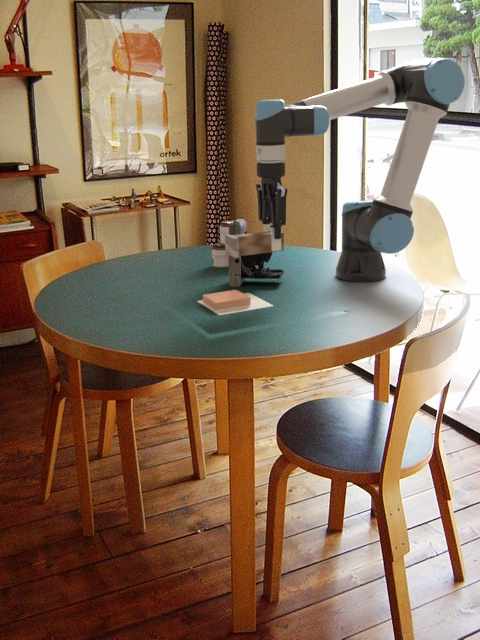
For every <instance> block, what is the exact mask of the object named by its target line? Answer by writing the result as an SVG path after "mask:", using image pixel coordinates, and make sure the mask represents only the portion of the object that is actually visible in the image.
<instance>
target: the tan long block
mask: <svg viewBox="0 0 480 640" xmlns="http://www.w3.org/2000/svg"><path fill="white" fill-rule="evenodd" d="M284 250H285V232H283V231H281V250H279V251H271V231H268V232H264V231H260V232H252V233H251V232H249V233H247V234H239V235H225V253H226V254H228V255H230V256H232V257H234V258H237V257H239V256H244V255H253V254H261V253H270V252H272V253H278V252H284Z"/></svg>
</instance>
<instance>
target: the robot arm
mask: <svg viewBox="0 0 480 640" xmlns="http://www.w3.org/2000/svg"><path fill="white" fill-rule="evenodd" d="M464 89H465V75H464V72H463V70H462V68H461V65H459V64H458V63H457V62H456V61H455V60H453V59H451V58H444V57H435V58H423V59H421V58H420V59H414V60H411V61H406V62H405V63H402V64H399V65H397V66H395V67H394V66H393V67H392V68H389V69H386V70H382V71H381V72H379V73H378V75H377V76H376V77H373V78H369V79H367V80H366V79H365V80H363V81H360V82H356V83H353V84H350V85H347V86H344V87H340V88H337V89H333V90H330V91H327V92H323V93H320V94H318V95H313V96H311V97H308V98H304V99H302V100H301V99H300V100H299V101H295V102H291V103H288V104H287V103H286V104H285V100H284V99H260V100H257V102H256V103H255V110H254V121H255V123H254V124H255V139H256V140H255V144H256V145H255V146H256V147H255V148H256V149H255V153H256V160H257V163H256V176H257V177H258V178H261V180H260V183H257V184H255V189H256V193H257V196H256V197H257V213H258V220H259V221H261V224H263V231H262V232H268V231H271V251H279V250H281V232H282V227H283V226H286V224H287V196H288V188H287V187H284V188H283V184H282V180H281V178H282V177H284V176H285V175H286V162H285V161H284V160H286V137H287V138H290V137H308V136H313V137H316V136H319V135H320V136H321V135H324V134H326V133H327V132H328V130H329V127H330V121H331V120H335V119H338V118H342V117H344V116H348V115H351V114H354V113H357V112H360V111H364V110H367V109H371V108H373V107H376V106H380V105H383V104H384V105H387V106H392V105H395V104H400V103H405V107H406V108H407V113H406V114H407V115H406V118H405V120H404V123H403V127H402V128H401V132H400V135H399V138H398V142H397V144H396V147H395V150H394V153H393V157H392V160H391V163H390V166H389V168H388V171H387V174H386V178H385V180H384V184H383V186H382V190H381V192H380V195H378V196H376V197H374V198H373V199H372V200H371V199H370V200H356V201H347V202H345V203H343V205H342V211H341V252H340V256H339V259H338V261H337V265H336V268H335V277H336V278H338V279H340V280H343V281H349V282H359V283H365V282H375V281H380V280H383V279H385V278H386V275H387V273H386V272H387V271H386V269H387V268H386V266H385V263H384V259H383V256H382V255H383V253H384V254H390V255H392V254H397V253H399V252H401V251H403V250H404V249H406V248H407V247H408V245H409V244H410V243H411V241H412V240H413V237H414V233H415V228H414V227H415V226H414V225H413V221H412V220H411V219H412V216H413V213H414V209H413V207H412V206H411V202H412V200H413V196H414V193H415V191H416V188H417V184H418V182H419V178H420V175H421V172H422V170H423V168H424V167H423V166H424V164H425V161H426V157H427V155H428V152H429V149H430V146H431V143H432V141H433V137H434V134H435V131H436V128H437V125H438V123H439V121H440V119H441V118H443V117H445V116H446V115H447V114H448V111H449V108H450V106H451V104H452V103H454V102H456V101H457V100H458V99H459V98H460V97H461V95H462V94H463V92H464ZM279 252H280V251H279Z"/></svg>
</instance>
